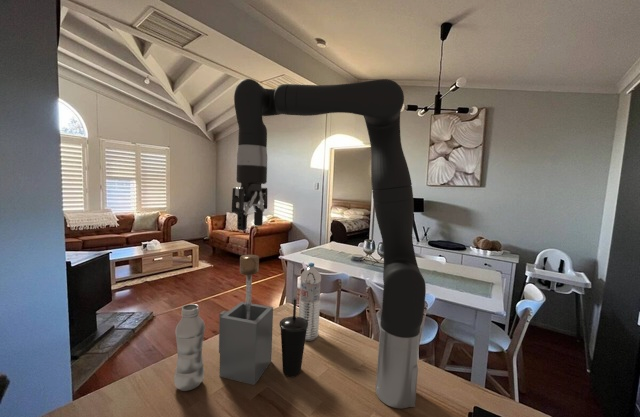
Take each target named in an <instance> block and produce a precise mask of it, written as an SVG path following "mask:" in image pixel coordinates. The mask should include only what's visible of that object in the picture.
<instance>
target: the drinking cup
mask: <svg viewBox="0 0 640 417" xmlns="http://www.w3.org/2000/svg"><path fill="white" fill-rule="evenodd" d="M292 309H293V310H292V316H287V317H284V318H282V319H281V320H280V321H279V327H280V340H281V341H280V342H281V356H282V357H281V359H282V360H281V361H282V373H283V375H284V376H286V377H289V378H294V377H297V376H299V375H300V374H301V371H302V366H303V365H302V364H303V357H304V350H305V345H306V344H305V342H306V341H305V337H306V330H307V327H308V321H307V320H306V319H304V318H302V317H299V316H298V315H297V312H296V310H297V299H293V308H292ZM296 315H297V316H296Z"/></svg>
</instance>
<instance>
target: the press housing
mask: <svg viewBox="0 0 640 417" xmlns="http://www.w3.org/2000/svg"><path fill="white" fill-rule="evenodd" d="M245 309H246V301H240V302H239V303H238V304H236V305H235V306H233V307H232V308H231V309H229V310H222V311H221V312H220V313H219V320H218V322H219V324H218V325H219V326H218V327H219V328H218V336H219V337H218V354H219V377H221V378H225V379H227V380H232V381H237V382H239V383H240V382H241V383H244V384H247V385H251V386H252V385H253V386H255V385H256V384H257V382H258V381H259V379H260V378H261V376H262V375H263V374H264V373H265V371H266V369H267V368H268V366H269V365H270V364H271V363H272V356H273V355H272V349H273V348H272V347H273V326H274V325H273V324H274V320H273V319H274V307H273V306H268V305H264V304H262V305H261V304H257V303H251V320H246V319H245Z"/></svg>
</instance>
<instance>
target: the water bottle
mask: <svg viewBox="0 0 640 417" xmlns="http://www.w3.org/2000/svg"><path fill="white" fill-rule="evenodd" d="M299 278H300V279H299V280H300V286H299V288H300V289H299V302H298V304H299V305H298V317H302V318H304V319H306V320H307V321H308V327H307V330H306V337H305V342H312V341H316V340H317V339H318V337H319V327H320V326H319V325H320V308H321V281H322V275H321V273H320V272H319V270H318V269H316V268H315V263H314V262H309V263H308V267H307V268H305V269H304V270H303V271H302V273H301V274H300V276H299Z"/></svg>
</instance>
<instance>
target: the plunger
mask: <svg viewBox="0 0 640 417" xmlns="http://www.w3.org/2000/svg"><path fill="white" fill-rule="evenodd" d="M259 263H260V256H259V255H256V254H244V255H241V256H240V257H239V273H240V274H241V275H243V276H244V275H246V276H245V279H246V280H245V303H246V309H245V319H246V320H251V304H252V288H253V285H252V281H253V279H252V278H253V275H257V274H258V273H259V272H260V270H259V267H260V264H259Z"/></svg>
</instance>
